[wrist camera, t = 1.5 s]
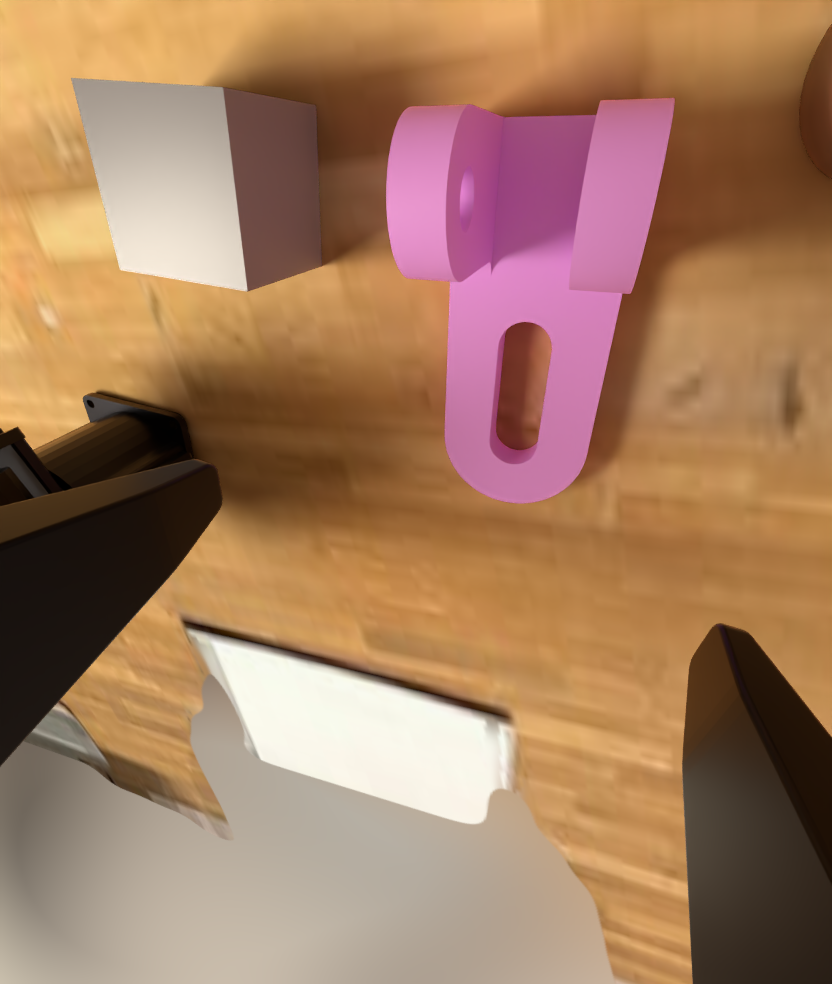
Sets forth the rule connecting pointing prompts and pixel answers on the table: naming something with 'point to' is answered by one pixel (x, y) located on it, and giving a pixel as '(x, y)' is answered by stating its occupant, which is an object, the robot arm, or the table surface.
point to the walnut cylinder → (818, 107)
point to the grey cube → (205, 180)
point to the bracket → (525, 262)
